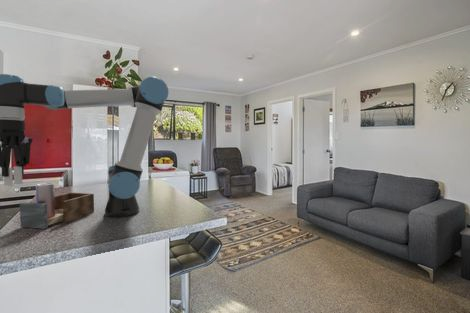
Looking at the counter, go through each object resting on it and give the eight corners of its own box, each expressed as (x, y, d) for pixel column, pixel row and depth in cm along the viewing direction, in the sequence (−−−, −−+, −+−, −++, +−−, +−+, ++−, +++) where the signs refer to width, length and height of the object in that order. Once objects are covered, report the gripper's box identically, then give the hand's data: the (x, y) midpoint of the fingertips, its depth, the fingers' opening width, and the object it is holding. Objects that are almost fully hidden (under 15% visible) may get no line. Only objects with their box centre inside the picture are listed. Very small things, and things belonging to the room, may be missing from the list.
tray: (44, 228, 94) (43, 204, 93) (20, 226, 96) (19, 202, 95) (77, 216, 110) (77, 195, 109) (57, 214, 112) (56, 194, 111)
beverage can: (33, 221, 98) (31, 184, 97) (47, 216, 104) (46, 182, 103) (45, 222, 97) (44, 185, 96) (58, 218, 103) (57, 183, 102)
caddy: (65, 222, 102) (65, 201, 102) (40, 220, 105) (39, 199, 104) (94, 211, 118) (93, 193, 118) (71, 210, 120) (70, 192, 120)
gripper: (24, 121, 95) (26, 181, 96) (-25, 117, 79) (-21, 188, 81) (40, 121, 93) (42, 181, 95) (-6, 117, 78) (-3, 189, 79)
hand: (13, 184), depth 88 cm, fingers open, 3 cm apart
